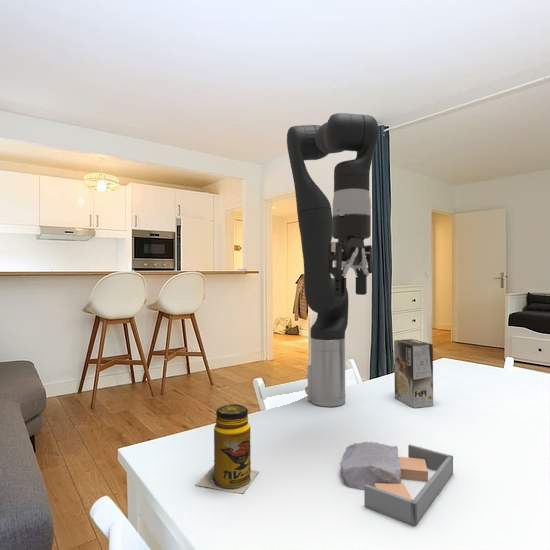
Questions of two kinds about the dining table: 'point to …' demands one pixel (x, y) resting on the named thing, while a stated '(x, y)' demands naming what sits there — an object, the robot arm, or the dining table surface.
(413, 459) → the tile
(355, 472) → the stone block
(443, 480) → the frame
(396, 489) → the tile
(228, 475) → the condiment
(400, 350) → the coffee box
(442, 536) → the dining table surface
